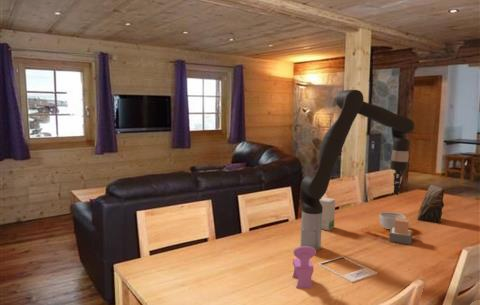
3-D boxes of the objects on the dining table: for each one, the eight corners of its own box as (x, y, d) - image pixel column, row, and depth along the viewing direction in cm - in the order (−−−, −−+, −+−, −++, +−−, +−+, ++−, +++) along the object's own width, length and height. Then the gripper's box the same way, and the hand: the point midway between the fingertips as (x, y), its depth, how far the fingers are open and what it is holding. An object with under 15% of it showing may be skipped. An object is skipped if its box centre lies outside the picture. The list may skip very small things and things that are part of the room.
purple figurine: (310, 276, 141) (312, 239, 139) (316, 288, 132) (318, 248, 130) (289, 276, 140) (290, 239, 138) (293, 288, 132) (294, 248, 130)
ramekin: (400, 224, 204) (401, 212, 203) (408, 232, 191) (409, 220, 190) (376, 223, 205) (376, 211, 205) (382, 231, 192) (383, 218, 192)
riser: (411, 244, 174) (412, 236, 174) (389, 241, 179) (389, 232, 178) (411, 238, 183) (412, 230, 183) (390, 234, 188) (391, 226, 187)
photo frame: (352, 281, 136) (317, 262, 151) (351, 284, 136) (317, 265, 151) (377, 272, 144) (342, 255, 159) (377, 274, 144) (342, 258, 159)
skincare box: (328, 231, 192) (329, 202, 189) (316, 228, 195) (317, 199, 193) (334, 227, 198) (336, 198, 196) (323, 224, 202) (324, 196, 200)
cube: (407, 234, 176) (408, 222, 176) (394, 232, 179) (395, 220, 178) (408, 230, 182) (409, 218, 181) (394, 228, 184) (395, 217, 184)
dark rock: (424, 215, 222) (427, 183, 219) (447, 220, 213) (450, 186, 210) (416, 219, 213) (419, 186, 211) (439, 225, 204) (443, 190, 202)
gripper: (407, 162, 168) (404, 197, 170) (408, 159, 181) (405, 191, 183) (390, 160, 171) (387, 194, 173) (392, 157, 184) (389, 189, 186)
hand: (396, 192), depth 178 cm, fingers open, 8 cm apart
